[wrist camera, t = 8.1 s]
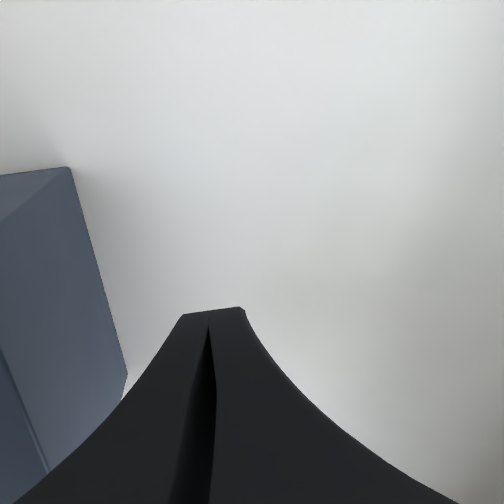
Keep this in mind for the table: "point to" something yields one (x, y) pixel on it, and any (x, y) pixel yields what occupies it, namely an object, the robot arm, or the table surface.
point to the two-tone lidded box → (50, 330)
